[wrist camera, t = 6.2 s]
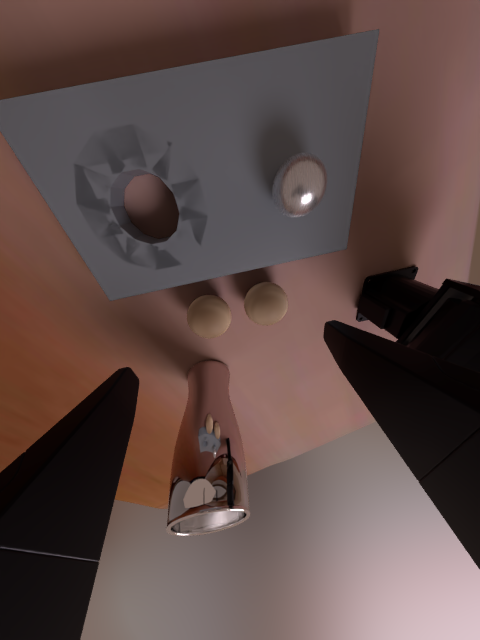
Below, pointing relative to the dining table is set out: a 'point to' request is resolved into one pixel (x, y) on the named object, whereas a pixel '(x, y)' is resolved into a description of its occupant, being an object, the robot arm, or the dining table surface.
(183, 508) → the beer glass
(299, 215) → the steel ball
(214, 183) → the plate
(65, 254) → the dining table surface
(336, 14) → the dining table surface
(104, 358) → the dining table surface
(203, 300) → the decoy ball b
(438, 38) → the dining table surface
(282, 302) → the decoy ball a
